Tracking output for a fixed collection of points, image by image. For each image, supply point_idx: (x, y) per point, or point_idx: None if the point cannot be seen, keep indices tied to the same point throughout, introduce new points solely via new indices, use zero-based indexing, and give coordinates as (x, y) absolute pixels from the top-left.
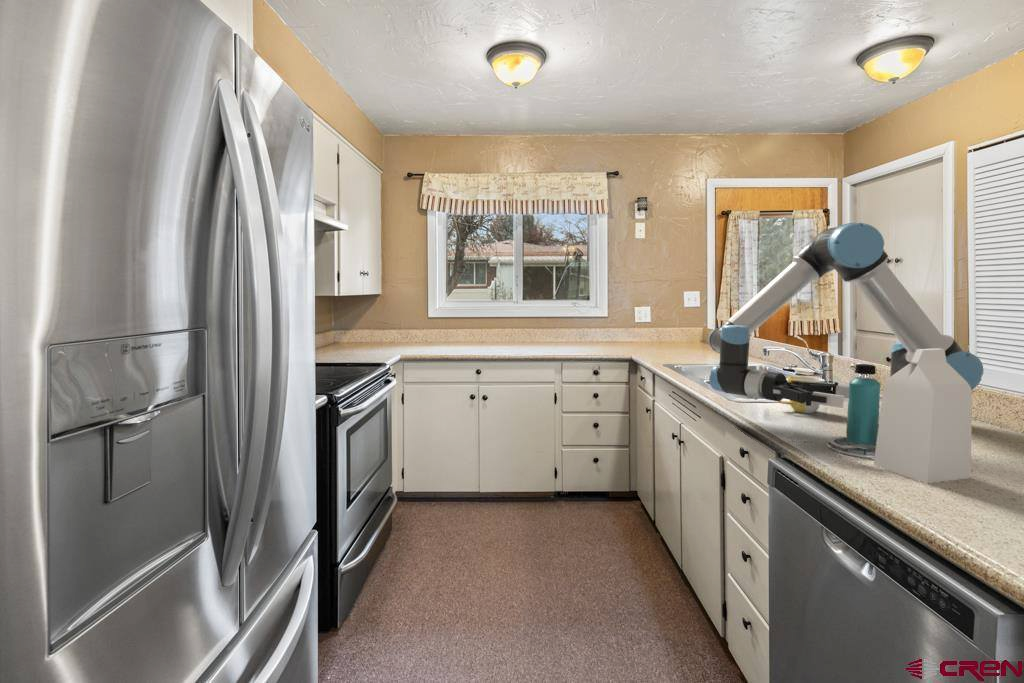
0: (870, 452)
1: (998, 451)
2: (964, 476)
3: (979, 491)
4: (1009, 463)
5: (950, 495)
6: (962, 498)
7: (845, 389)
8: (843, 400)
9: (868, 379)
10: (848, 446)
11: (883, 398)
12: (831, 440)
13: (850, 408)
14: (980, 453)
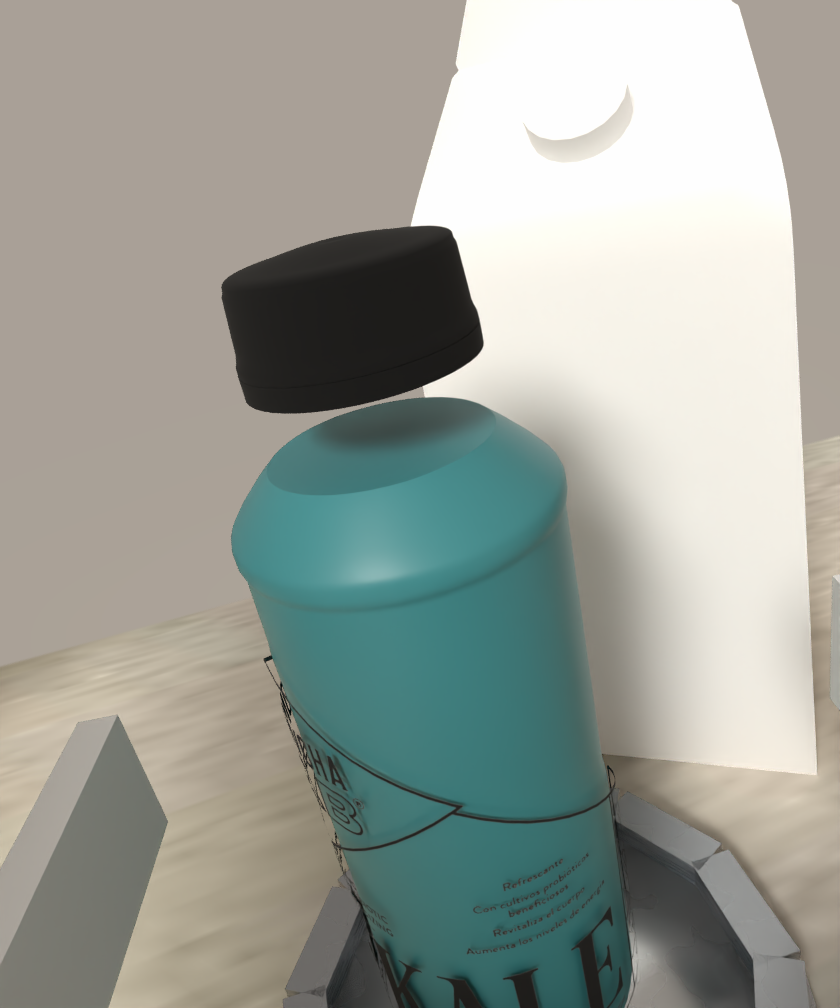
0: (690, 826)
1: (10, 691)
2: None
3: None
4: (203, 619)
5: (833, 523)
6: (817, 508)
7: (30, 965)
8: (838, 624)
9: (398, 420)
10: None
11: (795, 338)
12: None
13: (588, 783)
14: (94, 700)
